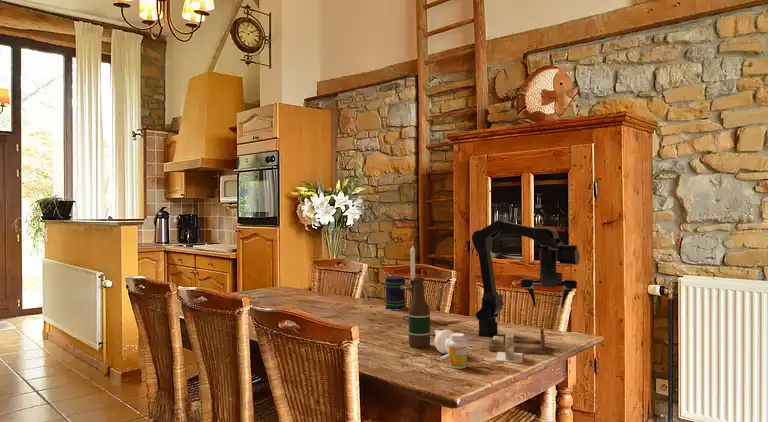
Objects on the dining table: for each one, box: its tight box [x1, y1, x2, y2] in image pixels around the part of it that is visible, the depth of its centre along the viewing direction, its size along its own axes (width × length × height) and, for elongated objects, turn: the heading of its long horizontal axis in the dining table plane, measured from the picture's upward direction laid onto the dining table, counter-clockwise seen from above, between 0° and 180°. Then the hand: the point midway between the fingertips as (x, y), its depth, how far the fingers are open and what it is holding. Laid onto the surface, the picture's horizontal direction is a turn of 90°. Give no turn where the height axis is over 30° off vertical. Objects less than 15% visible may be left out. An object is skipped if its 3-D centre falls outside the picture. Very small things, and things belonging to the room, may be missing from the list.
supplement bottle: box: [448, 332, 468, 370], centre depth 167 cm, size 5×5×10 cm
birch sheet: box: [504, 331, 515, 360], centre depth 175 cm, size 2×8×7 cm, turn 166°
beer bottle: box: [408, 276, 431, 349], centre depth 192 cm, size 8×8×24 cm
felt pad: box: [495, 352, 524, 364], centre depth 176 cm, size 8×10×1 cm
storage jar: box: [384, 275, 407, 310], centre depth 263 cm, size 10×10×15 cm
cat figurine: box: [434, 329, 470, 360], centre depth 179 cm, size 9×11×12 cm
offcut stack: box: [492, 335, 505, 345], centre depth 188 cm, size 4×7×2 cm, turn 166°
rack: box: [488, 328, 546, 355], centre depth 187 cm, size 18×10×6 cm, turn 76°
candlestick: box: [400, 237, 427, 322], centre depth 237 cm, size 11×11×35 cm
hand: (548, 307), depth 194 cm, fingers open, 9 cm apart
